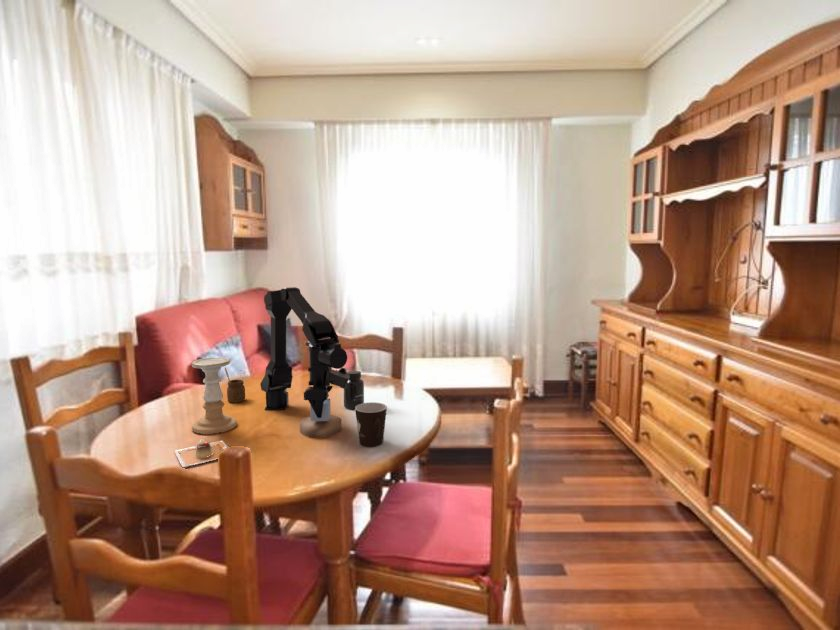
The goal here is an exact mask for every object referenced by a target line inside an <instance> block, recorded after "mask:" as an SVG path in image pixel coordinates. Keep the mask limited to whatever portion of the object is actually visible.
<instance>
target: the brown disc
mask: <svg viewBox="0 0 840 630" xmlns="http://www.w3.org/2000/svg"><path fill="white" fill-rule="evenodd" d="M342 422H343V421H342V418H341V417H339V416H338V415H334V414H333V415H332V414H331V415H330V418H329V421H311V415H310V416H307V417H304V418H302V419H301V420H300V421H299V432H300V434H301V435H302V434H303V435H302V436H304V435H305V436H304V437H307V436H308V437H309V438H325V437H331V436H335V435H337V434H339V433H341V431H342V430H343V423H342Z"/></svg>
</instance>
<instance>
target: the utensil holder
mask: <svg viewBox="0 0 840 630" xmlns="http://www.w3.org/2000/svg"><path fill="white" fill-rule="evenodd" d="M224 371H225V374H226V377H227V379H228V381H227V388H226V395H227V396H226V399H227V402H228V403H232V404H236V403H241V402H244V401H245V400H246V387H245V385H244V380H243V379H244V376H241V377H242V379H230V377H229V376H230V375H229V373H228V370H227V367H225V366H224ZM239 374H240V375H245V371H243V369H240V370H238V371H237V375H239Z"/></svg>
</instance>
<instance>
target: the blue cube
mask: <svg viewBox="0 0 840 630" xmlns="http://www.w3.org/2000/svg"><path fill="white" fill-rule="evenodd" d="M309 404H310V403H309ZM309 406H310V416H311V421H329V418H330V415H332V414H331V398H327V399H326V400H325V401H324V404H323V411H322V417H321V418H317V416H316V414H315V412H314V410H313V408H312V406H311V404H310V405H309Z"/></svg>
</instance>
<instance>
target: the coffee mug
mask: <svg viewBox="0 0 840 630" xmlns="http://www.w3.org/2000/svg"><path fill="white" fill-rule="evenodd" d="M387 409H388V406H387V405H386V404H385V403H381V402H373V401H372V402H364V403H363V404H359V405H357V406H356V407H355V409H354V410H355V412H354V413H355V418H356V427H357V432H358V440H359V445H360V446H362V447H363V448H378V447H379V446H382V445H383V444H384V436H385V428H386V427H385V426H386V420H387V419H386V418H387V411H388V410H387Z"/></svg>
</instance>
